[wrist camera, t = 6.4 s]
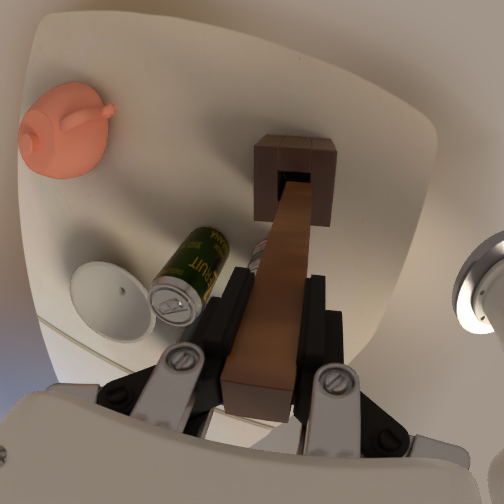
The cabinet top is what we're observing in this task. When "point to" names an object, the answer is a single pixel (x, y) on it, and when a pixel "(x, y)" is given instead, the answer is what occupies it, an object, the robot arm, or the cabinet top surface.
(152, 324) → the dish
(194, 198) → the cabinet top surface
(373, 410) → the robot arm
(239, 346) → the brown wooden stick
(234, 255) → the cabinet top surface
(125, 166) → the cabinet top surface
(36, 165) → the pink teapot
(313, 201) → the stick stand
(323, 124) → the cabinet top surface
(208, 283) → the green drink can
